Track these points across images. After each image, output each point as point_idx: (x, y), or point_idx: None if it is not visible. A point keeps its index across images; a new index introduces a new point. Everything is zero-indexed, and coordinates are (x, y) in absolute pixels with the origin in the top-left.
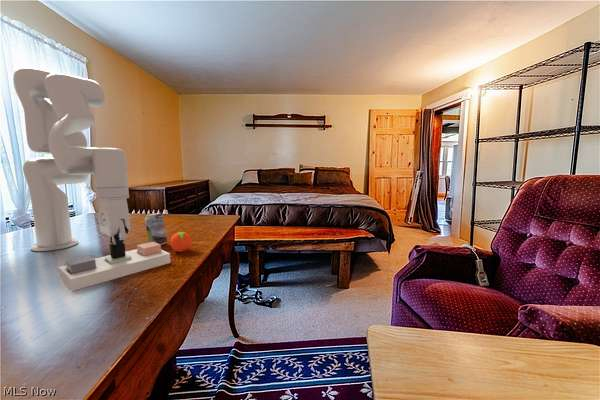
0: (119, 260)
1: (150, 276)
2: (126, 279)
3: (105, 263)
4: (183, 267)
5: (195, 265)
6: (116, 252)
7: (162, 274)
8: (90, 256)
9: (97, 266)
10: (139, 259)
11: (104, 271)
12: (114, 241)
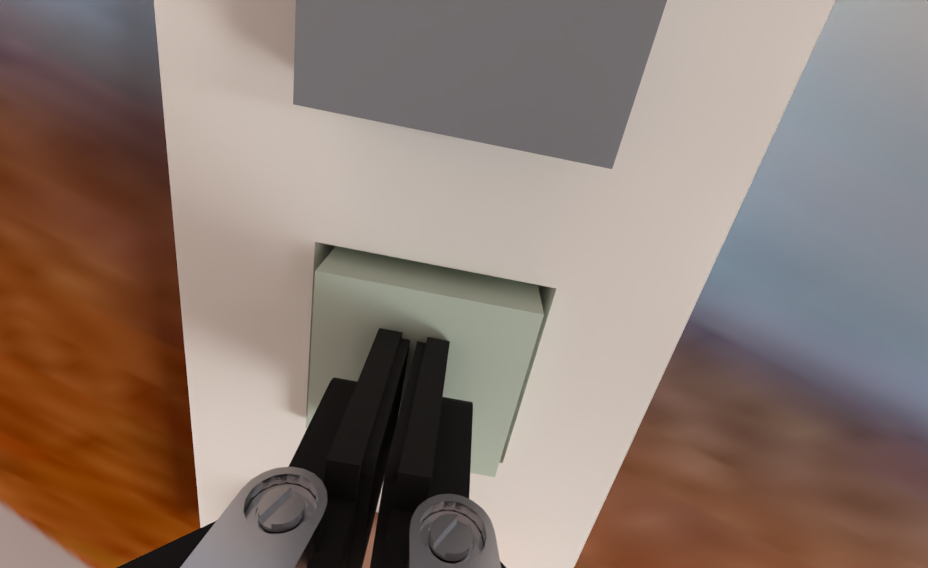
0: (314, 340)
1: (77, 336)
2: (147, 216)
3: (410, 238)
4: (93, 510)
5: (75, 552)
6: (322, 398)
7: (58, 392)
8: (539, 153)
9: (385, 136)
10: (245, 445)
11: (173, 103)
12: (206, 543)
